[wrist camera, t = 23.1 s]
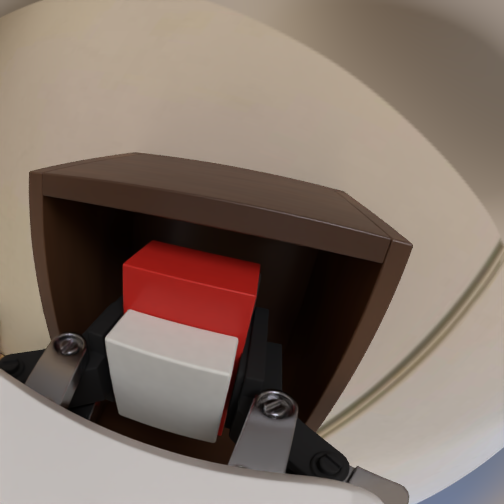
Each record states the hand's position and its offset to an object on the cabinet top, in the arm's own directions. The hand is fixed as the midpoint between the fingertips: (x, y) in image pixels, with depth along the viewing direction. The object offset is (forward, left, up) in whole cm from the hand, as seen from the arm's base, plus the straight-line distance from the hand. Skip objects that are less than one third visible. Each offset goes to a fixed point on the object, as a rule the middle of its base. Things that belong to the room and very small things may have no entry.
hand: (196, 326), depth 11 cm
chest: (+2, 0, -7) cm, 7 cm away
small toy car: (0, 0, 0) cm, 0 cm away
